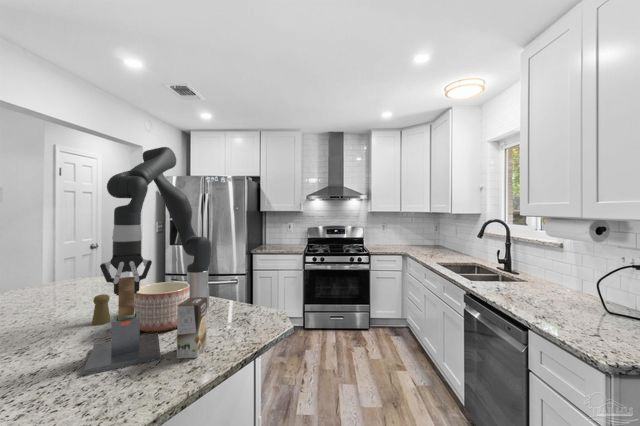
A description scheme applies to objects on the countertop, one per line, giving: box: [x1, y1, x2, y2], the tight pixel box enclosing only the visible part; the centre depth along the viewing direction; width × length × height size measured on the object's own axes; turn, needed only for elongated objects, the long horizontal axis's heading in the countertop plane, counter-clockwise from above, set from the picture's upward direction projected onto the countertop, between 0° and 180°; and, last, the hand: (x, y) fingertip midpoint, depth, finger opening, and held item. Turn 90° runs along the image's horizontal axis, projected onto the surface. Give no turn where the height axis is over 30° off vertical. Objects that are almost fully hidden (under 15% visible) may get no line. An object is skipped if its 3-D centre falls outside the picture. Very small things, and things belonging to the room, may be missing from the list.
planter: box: [134, 281, 190, 333], centre depth 113 cm, size 19×19×15 cm
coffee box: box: [176, 297, 208, 359], centre depth 91 cm, size 9×6×16 cm
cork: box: [91, 293, 112, 326], centre depth 115 cm, size 6×6×11 cm
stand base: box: [83, 312, 161, 376], centre depth 89 cm, size 18×18×12 cm
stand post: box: [117, 276, 135, 320], centre depth 90 cm, size 4×4×16 cm
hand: (126, 293), depth 90 cm, fingers closed on stand post, 4 cm apart
